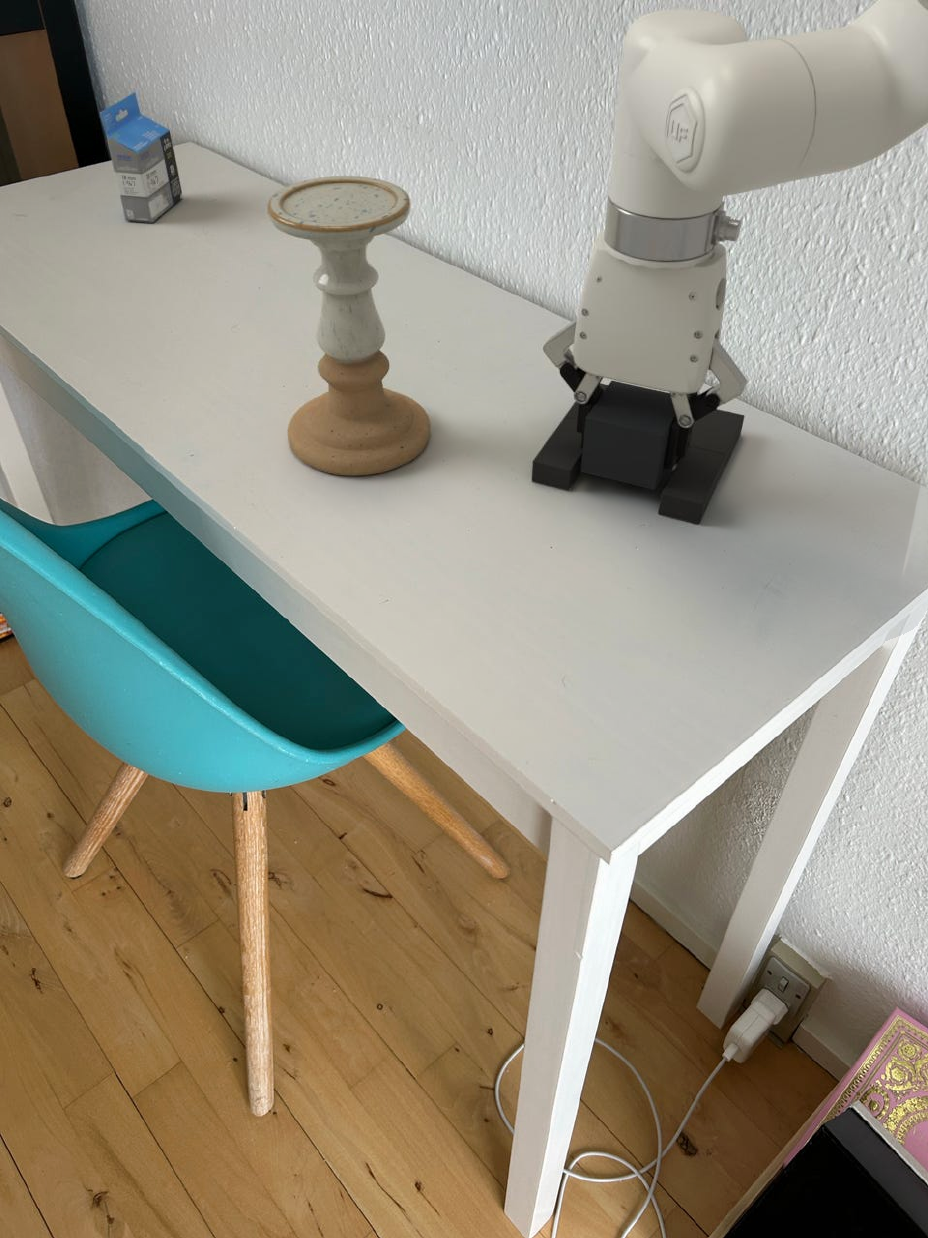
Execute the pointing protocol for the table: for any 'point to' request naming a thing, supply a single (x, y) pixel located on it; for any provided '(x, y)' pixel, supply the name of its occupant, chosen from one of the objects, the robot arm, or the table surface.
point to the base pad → (688, 479)
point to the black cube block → (628, 435)
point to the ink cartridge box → (141, 162)
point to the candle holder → (350, 329)
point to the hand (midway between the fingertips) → (631, 448)
